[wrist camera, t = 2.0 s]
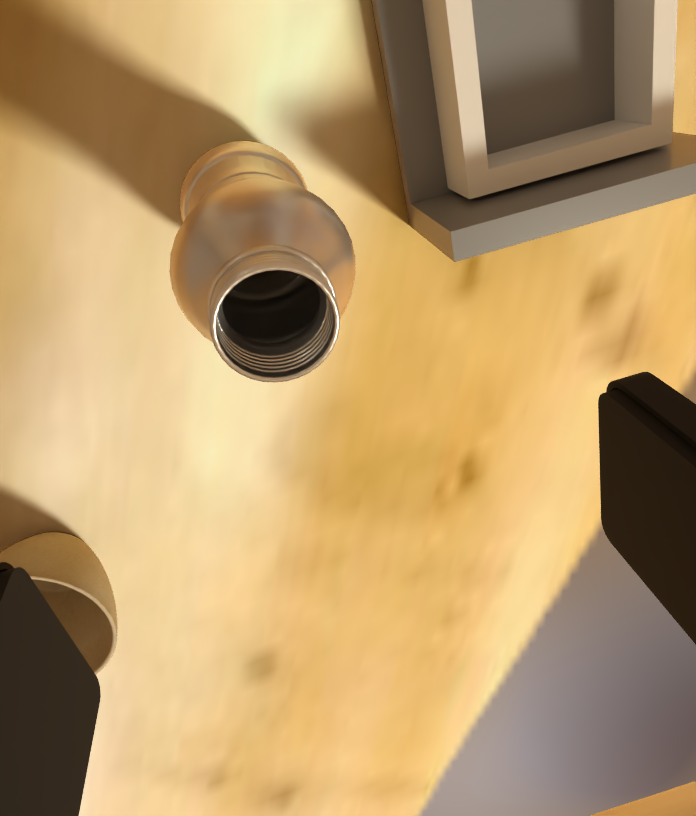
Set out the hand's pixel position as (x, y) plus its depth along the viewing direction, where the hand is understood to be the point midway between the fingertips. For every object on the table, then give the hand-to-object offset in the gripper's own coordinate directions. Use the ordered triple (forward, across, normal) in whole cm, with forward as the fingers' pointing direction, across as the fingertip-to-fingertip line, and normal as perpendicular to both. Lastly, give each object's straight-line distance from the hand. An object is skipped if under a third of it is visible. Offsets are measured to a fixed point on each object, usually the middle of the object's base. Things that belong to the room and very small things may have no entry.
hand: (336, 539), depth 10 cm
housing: (+29, -17, -4) cm, 34 cm away
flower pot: (+29, +20, +20) cm, 41 cm away
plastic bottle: (+29, 0, 0) cm, 29 cm away
